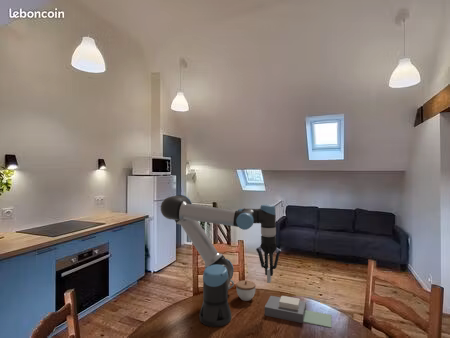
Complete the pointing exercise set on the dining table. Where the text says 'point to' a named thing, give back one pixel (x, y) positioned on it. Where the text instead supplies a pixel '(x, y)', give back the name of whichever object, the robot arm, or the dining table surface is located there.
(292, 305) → the tile
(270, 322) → the dining table surface
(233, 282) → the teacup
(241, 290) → the lidded jar
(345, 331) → the dining table surface
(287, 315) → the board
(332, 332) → the dining table surface
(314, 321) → the mat
